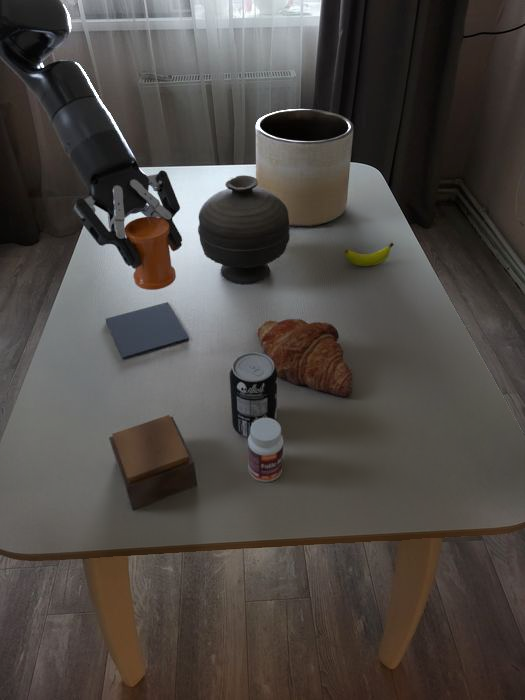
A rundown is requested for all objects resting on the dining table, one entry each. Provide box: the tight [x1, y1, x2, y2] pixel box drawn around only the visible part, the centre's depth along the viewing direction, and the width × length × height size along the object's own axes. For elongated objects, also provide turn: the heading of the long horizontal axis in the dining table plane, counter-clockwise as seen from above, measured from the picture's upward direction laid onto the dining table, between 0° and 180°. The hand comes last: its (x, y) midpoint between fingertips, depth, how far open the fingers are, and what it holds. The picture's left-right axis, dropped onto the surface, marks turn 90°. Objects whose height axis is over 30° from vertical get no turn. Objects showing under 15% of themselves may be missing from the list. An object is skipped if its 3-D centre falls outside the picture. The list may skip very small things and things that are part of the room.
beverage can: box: [229, 351, 278, 439], centre depth 79 cm, size 7×7×12 cm
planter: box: [255, 108, 354, 227], centre depth 130 cm, size 22×22×20 cm
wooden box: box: [108, 414, 198, 511], centre depth 75 cm, size 9×9×6 cm
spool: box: [124, 216, 177, 291], centre depth 76 cm, size 6×6×8 cm
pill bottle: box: [247, 418, 285, 483], centre depth 74 cm, size 5×5×8 cm
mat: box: [105, 301, 190, 360], centre depth 100 cm, size 12×12×1 cm
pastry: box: [256, 318, 353, 398], centre depth 91 cm, size 17×15×8 cm
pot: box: [197, 174, 291, 286], centre depth 109 cm, size 18×18×20 cm
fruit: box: [344, 242, 395, 267], centre depth 115 cm, size 10×2×5 cm, turn 97°
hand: (158, 256), depth 74 cm, fingers closed on spool, 6 cm apart
